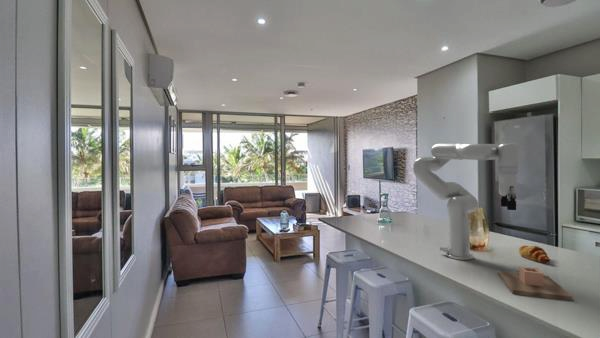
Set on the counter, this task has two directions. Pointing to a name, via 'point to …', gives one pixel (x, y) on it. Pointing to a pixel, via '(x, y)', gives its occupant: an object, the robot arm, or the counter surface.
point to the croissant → (534, 253)
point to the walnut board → (534, 287)
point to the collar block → (531, 276)
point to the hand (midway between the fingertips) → (508, 208)
